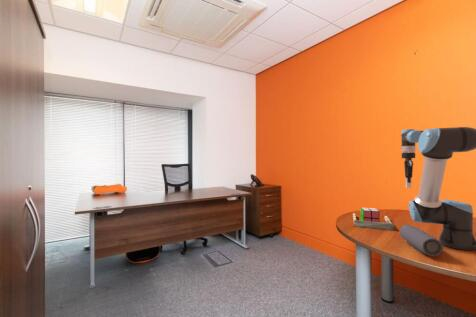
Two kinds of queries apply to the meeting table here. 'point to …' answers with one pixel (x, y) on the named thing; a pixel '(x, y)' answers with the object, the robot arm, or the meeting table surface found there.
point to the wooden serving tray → (374, 224)
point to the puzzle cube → (370, 214)
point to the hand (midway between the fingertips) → (408, 187)
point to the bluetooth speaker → (421, 240)
